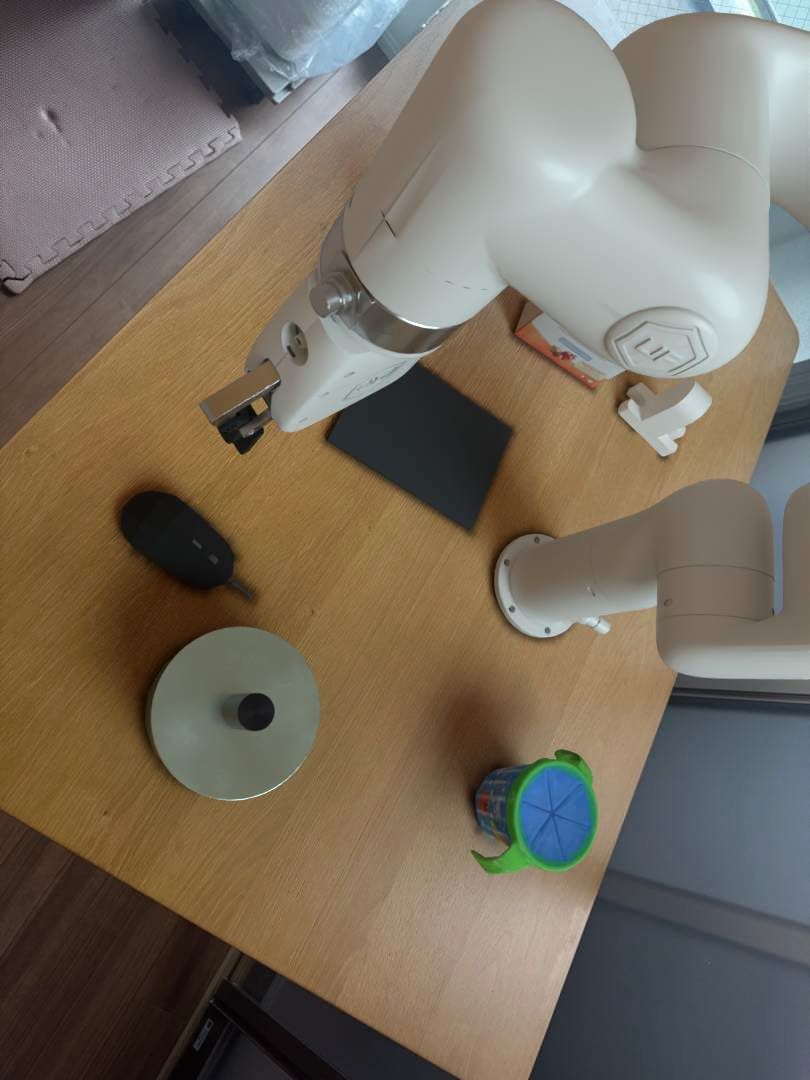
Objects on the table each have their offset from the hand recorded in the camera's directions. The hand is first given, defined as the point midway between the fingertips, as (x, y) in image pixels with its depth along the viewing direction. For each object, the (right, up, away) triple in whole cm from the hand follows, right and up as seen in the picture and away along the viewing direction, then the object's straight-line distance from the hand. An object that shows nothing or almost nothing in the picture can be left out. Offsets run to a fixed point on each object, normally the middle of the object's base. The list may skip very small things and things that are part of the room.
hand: (292, 403), depth 49 cm
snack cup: (+18, -39, +32) cm, 53 cm away
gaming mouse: (-14, -10, +23) cm, 28 cm away
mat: (+10, +3, +37) cm, 38 cm away
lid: (-7, -24, +14) cm, 29 cm away
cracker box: (+28, +17, +49) cm, 59 cm away
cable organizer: (+42, +7, +54) cm, 69 cm away
